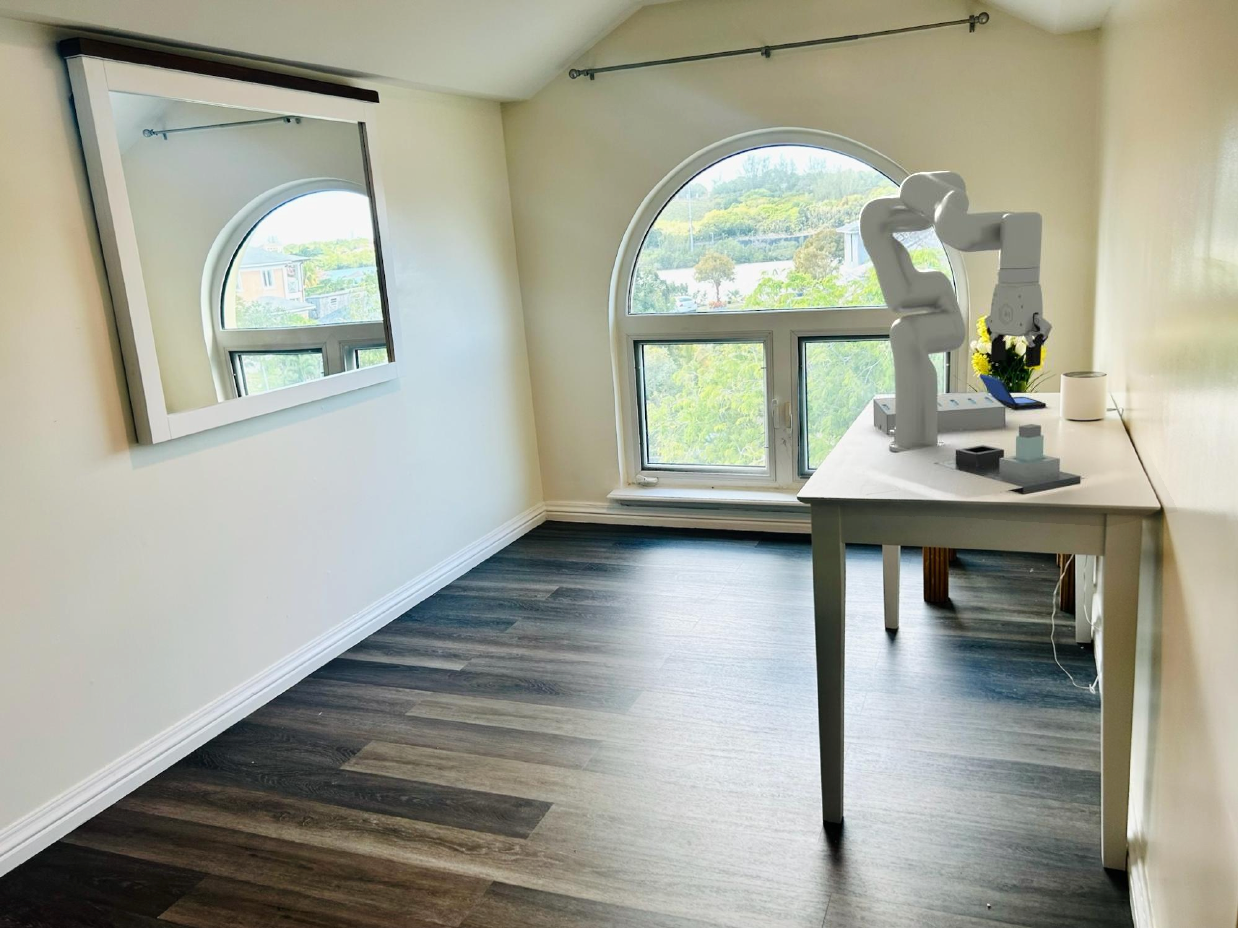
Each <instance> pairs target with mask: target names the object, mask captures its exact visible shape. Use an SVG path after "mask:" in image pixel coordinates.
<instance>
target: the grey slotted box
mask: <svg viewBox="0 0 1238 928" xmlns="http://www.w3.org/2000/svg"><path fill="white" fill-rule="evenodd" d="M1006 408H1007V407H1006V406H1004V405H1003V404H1002V403H1000V402H999V401H998V400H996V399H995V398H994V397H993V396H992V395H991V394H990V392H988V391H986V390H985V391H974V392H973V391H971V392H957V393H955V392H954V393H944V394H943V393H942V394H938V432H947V431H950V430H951V431H962V429H966V430H978V429H981V430H982V429H993V428H994V429H995V428H1006ZM873 426H875V427H876V428H877V429H879V430H880V431H881V432H882V433H884V434H886V435H887V436H891V435H890V434H889V431H890V430H894V428H895V427H896V417H895V397H888V398H887V397H886V398H884V397H883V398H874V399H873ZM960 429H961V430H960Z"/></svg>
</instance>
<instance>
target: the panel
mask: <svg viewBox="0 0 1238 928" xmlns="http://www.w3.org/2000/svg"><path fill="white" fill-rule="evenodd" d="M1060 461H1061V458H1059V457H1054V456H1051V455H1046V454H1043V459H1041V460H1036V461H1030V462H1024V461H1020V460H1016V455H1011V456H1005V449H1002V448H998V447H993V446H989V445H984V444H981V445H975V446H970V447H969V446H968V447H963V448H957V449H955V459H951V460H945V461H940V462H934V463H933V465H938V466H941V467H945V468H949V469H953V470H957V471H960V472H965V473H967V474H970V475H971V474H972V475H975V476H980V477H984V478H987V479H992V480H993V481H994V480H995V481H999V482H1002V483H1007V484H1009V485H1014V486H1018V488H1017V487H1016V488H1012V489H1008V490H1007V491H1009V492H1013V493H1016V494H1020V495H1023V496H1024V495H1029V494H1033V493H1038V492H1044V491H1049V490H1054V489H1060V488H1065V487H1070V486H1076V485H1080V484H1081V482H1082V480H1081V478H1082V476H1081V475H1077V474H1074V473H1068V472H1065V471H1061V470H1060V469H1061V467H1060V466H1061V462H1060Z"/></svg>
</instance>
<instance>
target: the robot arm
mask: <svg viewBox="0 0 1238 928" xmlns="http://www.w3.org/2000/svg"><path fill="white" fill-rule="evenodd" d="M969 201H970V200H969V196H968V194H967V187H966V182H965V180H964V178H963V177H962V176H961V175H960V174H959V173H957V172H955V171H948V170H945V171H930V172H929V171H928V172H925V171H923V172H917V173H914V174H912V175H909V176H908V177H907V178H905V179H904V180H903V182H902V183H901V184H900V187H899V191H898V195H888V196H881V197H876V198H874V199H870V200H869V201H868V202H866V203H865V204H864V205H863V207H862V208H861V210H860V213H859V219H858V231H859V237H860V240H861V243H862V245H863V248H864V250H865V251H866V253H867V254H868V256H869V258H870V261H871V262H872V264H873V268H874V271H875V275H876V277H877V281H878V285H879V287H880V291H881V294H882V297H883V299H884V302H885V305H886V306H887V308H888V310H889V311H891V312H892V313H896V314H907V313H915V314H908V315H904V316H901V317H899V318H898V319H896V320H894V322H893V323H892V325H891V327H890V330H889V343H890V347H891V351H892V356H893V366H894V395H895V397H894V398H895V417H896V427H895V428H894V430H890V431H889V434H890V435H889V436H893V441H891V442H890V443H889V444H888V447H889V450H891V451H892V452H896V453H903V452H908V451H914V450H921V449H926V448H932V447H938V446H944V445H945V442H944V441H942V440H939V438H938V437H939V436H938V434H939V431H938V395H939V394H938V389H939V388H938V385H939V384H938V372H937V369H936V367H935V365H934V363H933V361H932V359H931V358H930V356H929V355H933V354H934V355H935V354H941V353H942V354H943V353H949V352H954V351H956V350H958V349H960V348H961V347H962V346H963V344H964V342H965V340H966V333H967V332H966V325H965V321H964V317H963V314H962V311H961V308H960V304H959V302H958V298H957V296H956V293H955V291H954V287H953V285H952V282H951V280H950V279H949V277H948V276H947V275H946V274H945V273H944V272H942V271H940V270H937V269H922V270H921V269H920V270H918V269H916V268H915V266H914V263H913V261H912V258H911V254H910V252H909V251H908V249H907V248H906V246H905V245H904V244H903V243H902V242H901V241H900V240H899V239H898V238H896V237H895V236H894V234H899V233H912V232H913V233H915V232H922V231H926V230H928V229H931V228H933V229H934V233H935V235H936V236H937V238H938V240H940V241H941V242H942V243H944V244H946V245H947V246H949V247H951V248H952V249H955V250H957V251H960V252H965V253H975V252H976V253H977V252H984V251H986V252H987V251H998V252H999V253H998V272H997V276H998V277H997V278H998V279H997V283H996V284H995V285H994V289H993V293H992V300H991V305H990V315H988V316H987V317H985V318H984V323H985V328H986V333H987V335H988V336H989V338H988V339H989V341H990V343H991V345H990V361H991V362H999V361H1004V360H1006V351H1007V350H1006V349H1007V340H1005V339H1006V336H1009V337H1018V338H1019V337H1021V338H1022V337H1023V336H1024V339H1025V341H1026V342H1027V344H1028V346H1026V348H1025V363H1024V364H1025V367H1026V368H1035V367H1039V366H1041V362H1042V361H1041V359H1042V346H1043V347H1044V345H1045V343H1046V341H1047V340H1048V338H1049V334H1050V333H1051V330H1052V328H1053V325H1052V324H1051V323H1050V322H1048V320H1046V319H1045V318H1044V315H1043V314H1044V310H1043V309H1044V308H1043V304H1044V303H1043V295H1042V294H1043V293H1042V287H1041V283H1040V274H1041V253H1042V238H1043V237H1042V235H1043V216H1042V215H1041V214H1040V213H1039V212H1037V211H1019V212H1014V211H1005V210H1004V211H990V212H988V211H987V212H976V213H973V212H972V213H969V212H968V210H969V207H970V206H969V205H970V202H969ZM916 312H917V313H916ZM918 312H922V313H918ZM923 312H924V313H923Z"/></svg>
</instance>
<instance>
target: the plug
mask: <svg viewBox="0 0 1238 928" xmlns="http://www.w3.org/2000/svg"><path fill="white" fill-rule="evenodd" d="M1044 439H1045V438H1044V435H1043V434H1042V425H1041V424H1035V423H1034V424H1032V423H1029V424H1024V425H1019V426H1018V435H1016V437H1015V456H1016V460H1020V461H1024V462H1030V461H1036V460H1041V459H1043V455H1044Z"/></svg>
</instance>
